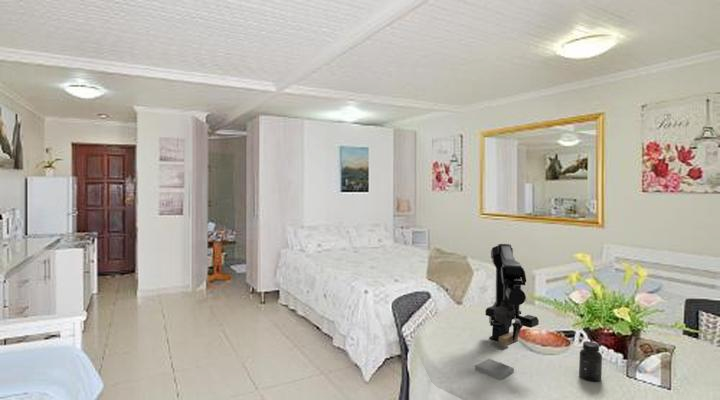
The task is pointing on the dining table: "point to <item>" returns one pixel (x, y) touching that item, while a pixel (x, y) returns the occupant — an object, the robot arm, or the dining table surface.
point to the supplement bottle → (590, 362)
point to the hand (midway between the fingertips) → (510, 338)
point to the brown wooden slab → (504, 341)
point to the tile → (494, 369)
